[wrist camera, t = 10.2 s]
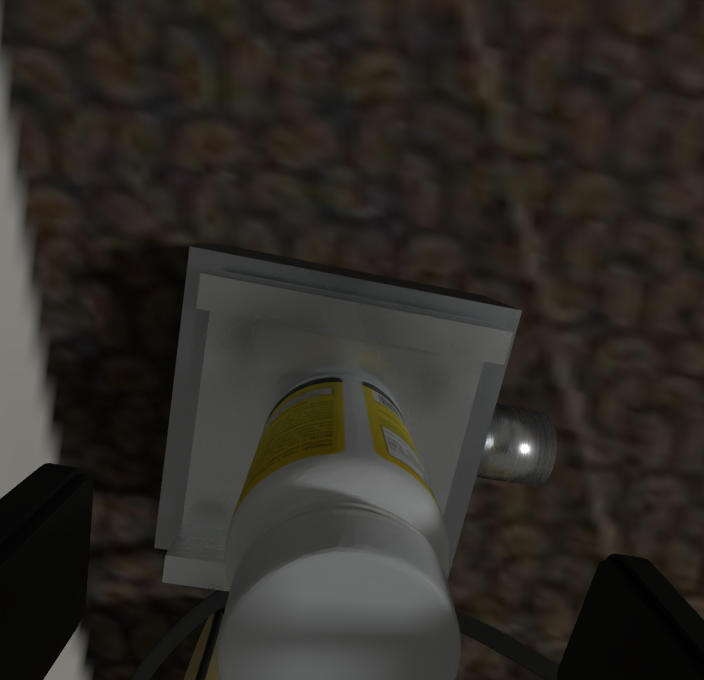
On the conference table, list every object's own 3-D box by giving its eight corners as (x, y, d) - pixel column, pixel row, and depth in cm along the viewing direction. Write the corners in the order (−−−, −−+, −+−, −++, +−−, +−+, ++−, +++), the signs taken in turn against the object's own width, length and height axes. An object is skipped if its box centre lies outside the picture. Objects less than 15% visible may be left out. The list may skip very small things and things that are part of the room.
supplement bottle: (251, 485, 16) (161, 751, 8) (281, 355, 15) (217, 499, 7) (385, 513, 16) (438, 795, 8) (423, 389, 15) (527, 563, 7)
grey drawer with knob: (220, 244, 18) (165, 247, 12) (551, 308, 19) (647, 340, 13) (188, 489, 21) (128, 590, 15) (486, 534, 22) (543, 647, 16)
